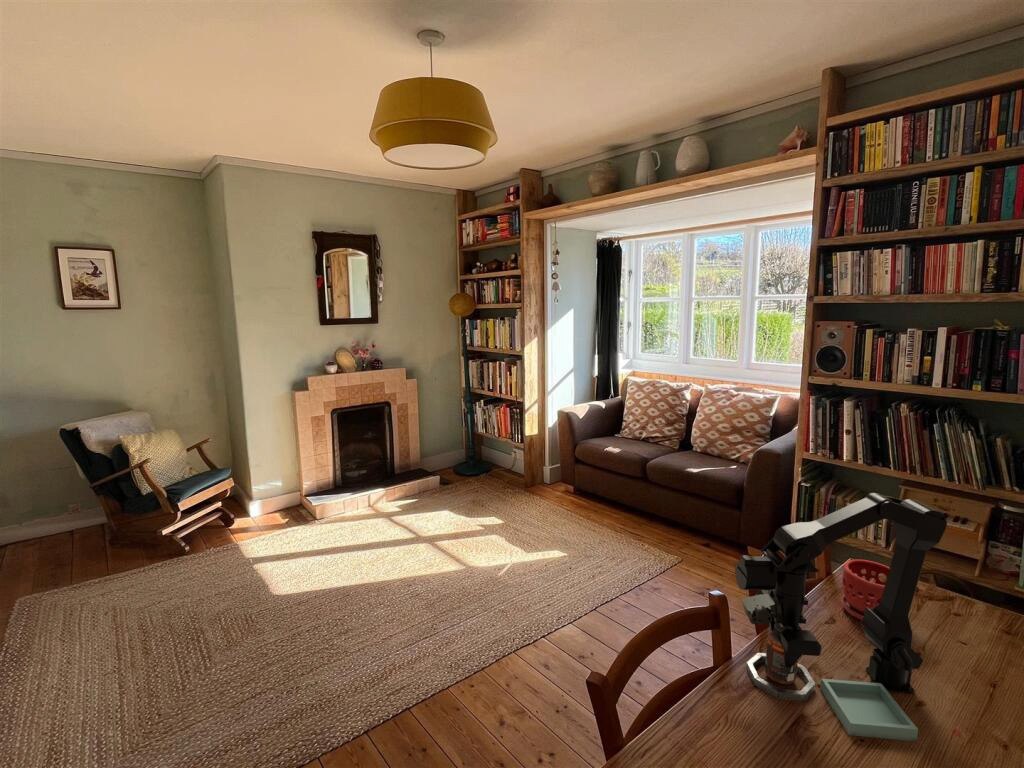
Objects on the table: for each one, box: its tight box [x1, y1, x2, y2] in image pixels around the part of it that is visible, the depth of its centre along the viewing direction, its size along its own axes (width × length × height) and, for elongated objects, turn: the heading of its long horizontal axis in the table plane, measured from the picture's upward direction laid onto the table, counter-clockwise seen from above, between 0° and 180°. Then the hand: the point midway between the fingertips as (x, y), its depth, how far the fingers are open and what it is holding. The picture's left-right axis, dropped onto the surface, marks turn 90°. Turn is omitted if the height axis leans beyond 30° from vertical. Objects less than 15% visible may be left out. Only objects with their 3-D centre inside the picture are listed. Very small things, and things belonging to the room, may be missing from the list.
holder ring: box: [746, 652, 816, 702], centre depth 112 cm, size 12×12×2 cm
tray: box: [819, 678, 919, 742], centre depth 103 cm, size 12×12×2 cm
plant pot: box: [840, 559, 890, 621], centre depth 134 cm, size 13×13×12 cm
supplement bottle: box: [764, 623, 799, 685], centre depth 111 cm, size 6×6×11 cm
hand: (782, 656), depth 111 cm, fingers closed on supplement bottle, 6 cm apart
